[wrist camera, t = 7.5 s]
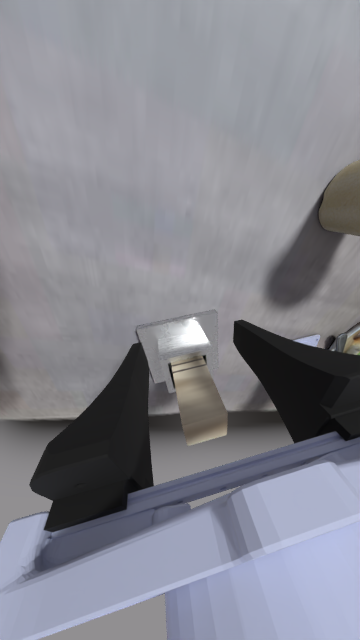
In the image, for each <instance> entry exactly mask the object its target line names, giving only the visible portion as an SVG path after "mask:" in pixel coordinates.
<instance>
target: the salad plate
mask: <svg viewBox="0 0 360 640" xmlns="http://www.w3.org/2000/svg"><path fill="white" fill-rule="evenodd" d="M359 333H360V322H359V323H358V324H356V325H355V326H353V327H352V328H351V329H350V330H348V331H347V332H346V333H342V334H340V335H339V336H337V338H336V340H335V341H334V342H333V344H332V345H331V346H330V348H329V349H328V350H331V351H337V352H342V353H348V354H354V355H360V335H358V334H359Z"/></svg>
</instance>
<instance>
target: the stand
mask: <svg viewBox="0 0 360 640" xmlns="http://www.w3.org/2000/svg"><path fill="white" fill-rule="evenodd" d="M136 330H137V333H138V336H139V339H140V342H141V343H142V346H143V349H144V352H145V354H146V357H147V360H148V365H149V368H150V371H151V374H152V377H153V380H154V382H155V384H156V383H160V382H164V381H166V385H167V388H168V391H169V393H173V392H176V388H175V382H174V377H173V371H172V367H171V363H173V362H177V361H181V360H186V359H190V358H194V357H198V356H203V358H204V361H205V363H206V365H207V367H208V370H209V372H210V374H211V377H212V379H213V369H217V368H218V312H217V311H216V310H215V309H213V310H209V311H204V312H199V313H195V314H190V315H185V316H181V317H176V318H171V319H166V320H162V321H157V322H152V323H148V324H143V325H138V326H137V328H136ZM213 381H214V380H213Z"/></svg>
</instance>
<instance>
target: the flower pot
mask: <svg viewBox="0 0 360 640" xmlns="http://www.w3.org/2000/svg"><path fill="white" fill-rule="evenodd" d="M319 220H320V223H321V225H322V227H323V228H324V229H326V230H328V231H334V232H340V233H345V234H351V235H356V236H360V160H358V161H356V162H353V163H351V164H350V165H348V166H346V167H345V168H344V169H342V170H341V171H340V172H339V173H338V174H337V175H336V176H335V177H334V179H333V180H332V181H331V182H330V184H329V185H328V187H327V189H326V190H325V192H324V199H323V202H322V205H321V207H320V209H319Z"/></svg>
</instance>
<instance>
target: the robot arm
mask: <svg viewBox="0 0 360 640" xmlns="http://www.w3.org/2000/svg"><path fill="white" fill-rule="evenodd" d="M319 339H320V336H319V335H313V336H309V337H305V338H301V339H297V340H290V339H287V338H284V337H281V336H279V335H276V334H274V333H271V332H269V331H266V330H264V329H262V328H260V327H257V326H255V325H253V324H251V323H249V322H246V321H244V320H238V321H234V337H233V342H234V344H235V346H236V348H237V350H238V351H239V353H240V354H241V356H242V357H243V359H244V360H245V361H246V363H247V364H248V365H249V366H250V368H251V369H252V370H253V372H254V373H255V374H256V376H257V377H258V379H259V380H260V381H261V383H262V385H263V386H264V388H265V390H266V391H267V393H268V395H269V396H270V398H271V400H272V401H273V403H274V405H275V407H276V409H277V410H278V412H279V414H280V416H281V418H282V420H283V421H284V423H285V425H286V427H287V429H288V431H289V433H290V435H291V437H292V439H293V441H294V444H291V445H288V446H285V447H281V448H278V449H275V450H271V451H268V452H265V453H261V454H258V455H255V456H252V457H248V458H245V459H242V460H239V461H235V462H232V463H229V464H225V465H222V466H219V467H215V468H212V469H209V470H206V471H202V472H199V473H195V474H192V475H189V476H186V477H183V478H179V479H176V480H173V481H169V482H166V483H162V484H159V485H156V486H154V485H153V474H152V464H151V451H150V439H149V422H148V391H149V366H148V360H147V357H146V354H145V352H144V349H143V346H142V343H141V342H140V343H136V344H133V345H132V347H131V348H130V350H129V352H128V354H127V356H126V357H125V359H124V361H123V363H122V364H121V366H120V368H119V369H118V371H117V372H116V374H115V375H114V377H113V378H112V379H111V381H110V382H109V383H108V385H107V386H106V387H105V389H104V390H103V391H102V392H101V393H100V395H99V396H98V397H97V398H96V399H95V400H94V401H93V402H92V403H91V405H90V406H89V407H88V408H87V409H86V410H85V411H84V412H83V413H82V414H81V415H80V416H79V417H78V418H77V419H75V420H74V421H73V423H71V424H70V425H69V426H68V427H67V428H66V429H65V430H63V431H62V432H61V433H60V434H59V435H58V436H57V437H55V438H54V439H53V440H52V441H51V442H49V443H48V445H47V447H46V449H45V451H44V453H43V455H42V457H41V459H40V462H39V464H38V466H37V468H36V471H35V473H34V475H33V477H32V479H31V482H30V487H31V489H32V491H33V492H35V493H37V494H39V495H41V496H44V497H46V498H48V499H50V500H53V503H52V507H51V509H50V512H40V513H36V514H32V515H29V516H26V517H22V518H19V519H16V520H13V521H11V522H10V523H9V525H8V527H7V529H6V531H5V533H4V536H3V538H2V540H1V542H0V640H37V639H40V638H43V637H45V636H48V635H51V634H54V633H56V632H59V631H62V630H65V629H68V628H70V627H73V626H76V625H79V624H81V623H84V622H87V621H90V620H92V619H95V618H98V617H101V616H104V615H106V614H109V613H112V612H115V611H117V610H120V609H123V608H126V607H128V606H131V605H134V604H137V603H139V602H142V601H145V600H148V599H151V598H154V597H156V596H159V595H162V594H165V604H166V623H167V640H360V355H354V354H348V353H342V352H337V351H331V350H327V349H322V348H318V347H316V346H317V343H318V341H319ZM241 485H242V486H241ZM238 486H240V487H239V488H237V489H236V490H234V491H232V492H231V493H229V494H226V495H224V496H222V497H219V498H217V499H214V500H212V501H210V502H207V503H205V504H202V505H200V506H198V507H195V508H193V509H191V508H190V505H189V504H188V503H187V502H191V501H194V500H197V499H200V498H203V497H206V496H210V495H213V494H216V493H219V492H222V491H226V490H229V489H232V488H235V487H238ZM185 503H187V504H185Z"/></svg>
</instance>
